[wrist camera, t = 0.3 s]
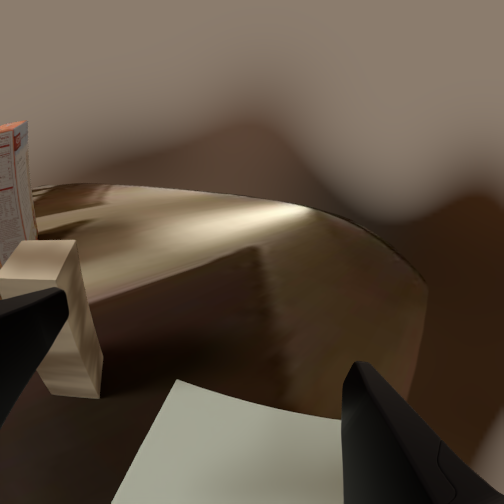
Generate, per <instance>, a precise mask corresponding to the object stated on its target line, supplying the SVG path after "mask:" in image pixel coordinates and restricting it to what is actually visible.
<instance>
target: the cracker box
mask: <svg viewBox="0 0 504 504" xmlns="http://www.w3.org/2000/svg"><path fill="white" fill-rule="evenodd" d="M29 172H30V171H29V156H28V121H20V122H14V123H9V124H5V125H2V126H0V265H1V268H2V267H3V265H4V264H5V263H6V261H7V260H8V258H9V257H10V256H11V254H12V253H13V252H14V250H15V249H16V248H17V246H18V245H19V244H20V242H21V241H28V240H38V230H37V224H36V218H35V212H34V206H33V199H32V191H31V183H30V173H29Z"/></svg>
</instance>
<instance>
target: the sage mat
mask: <svg viewBox="0 0 504 504" xmlns="http://www.w3.org/2000/svg"><path fill="white" fill-rule="evenodd" d="M111 504H344V501H343V464H342V445H341V420H335V419H329V418H322V417H316V416H311V415H305V414H300V413H295V412H290V411H285V410H281V409H276V408H272V407H267V406H263V405H259V404H255V403H251V402H248V401H244V400H240V399H237V398H233V397H229V396H226V395H223V394H219V393H216V392H213V391H210V390H207V389H204V388H200V387H197V386H195V385H192V384H189V383H186V382H183V381H180V380H178V379H177V380H176V382H175V384H174V386H173V387H172V389H171V391H170V393H169V395H168V397H167V399H166V400H165V402H164V404H163V406H162V408H161V410H160V412H159V414H158V415H157V417H156V419H155V421H154V423H153V425H152V427H151V429H150V431H149V432H148V434H147V436H146V438H145V440H144V442H143V444H142V446H141V448H140V449H139V451H138V453H137V455H136V457H135V459H134V461H133V463H132V465H131V466H130V468H129V470H128V472H127V474H126V476H125V478H124V480H123V482H122V484H121V485H120V487H119V489H118V491H117V493H116V495H115V497H114V499H113V501H112V503H111Z"/></svg>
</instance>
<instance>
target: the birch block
mask: <svg viewBox="0 0 504 504" xmlns="http://www.w3.org/2000/svg"><path fill="white" fill-rule="evenodd" d="M52 287H57V288H60V289H63V290H64V291H65V292H66V295H67V301H68V307H69V317H68V319H67V321H66V323H65V324H64V326H63V328H62V329H61V331H60V333H59V334H58V336H57V338H56V340H55V341H54V343H53V345H52V347H51V348H50V350H49V352H48V353H47V355H46V356H45V358H44V359H43V361H42V362H41V363H40V365H39V366H38V368H37V369H36V370H37V372H38V373H39V375H40V377H41V378H42V380H43V382H44V383H45V385H46V386H47V388H48V390H49V391H50V393H51V394H53V395H61V396H71V397H82V398H95V399H100V386H101V375H102V365H103V354H102V351H101V348H100V345H99V342H98V338H97V335H96V331H95V328H94V324H93V321H92V317H91V313H90V309H89V305H88V301H87V297H86V292H85V288H84V283H83V278H82V273H81V268H80V262H79V257H78V251H77V244H76V240H28V241H21V242H20V244H19V245H18V246H17V248H16V249H15V250H14V252H13V253H12V254H11V256H10V257H9V258H8V260H7V261H6V263H5V264H4V265H3V267H2V268H1V270H0V294H1V296H2V299H7V298H11V297H15V296H19V295H23V294H27V293H31V292H35V291H39V290H44V289H48V288H52Z"/></svg>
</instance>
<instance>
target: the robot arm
mask: <svg viewBox="0 0 504 504" xmlns="http://www.w3.org/2000/svg"><path fill="white" fill-rule="evenodd" d="M68 317H69V307H68V301H67V295H66V292H65V291H64V290H63V289H60V288H57V287H52V288H48V289H44V290H39V291H35V292H31V293H27V294H23V295H19V296H15V297H11V298H7V299H3V300H0V429H1V427H2V425H3V423H4V421H5V420H6V418H7V416H8V414H9V413H10V411H11V409H12V407H13V406H14V404H15V402H16V401H17V399H18V397H19V396H20V394H21V393H22V391H23V389H24V388H25V386H26V385H27V383H28V382H29V380H30V378H31V377H32V375H33V374H34V372H35V371H36V369H37V368H38V366H39V365H40V363H41V362H42V361H43V359H44V358H45V356H46V355H47V353H48V352H49V350H50V348H51V347H52V345H53V343H54V341H55V340H56V338H57V336H58V334H59V333H60V331H61V329H62V328H63V326H64V324H65V323H66V321H67V319H68ZM341 445H342V464H343V501H344V504H504V495H503V494H501V493H499V492H498V491H496V490H495V489H494V488H493V487H491V486H490V485H489V484H488V483H487V482H486V481H485V480H484V479H482V478H481V477H480V476H479V475H478V474H476V473H475V472H474V471H473V470H472V469H471V468H470V467H469V466H468V465H467V464H465V463H464V462H463V461H462V460H461V459H460V458H459V457H458V456H457V455H456V454H455V453H454V452H453V451H452V450H451V449H450V448H449V447H448V446H447V445H446V443H445V442H444V441H443V440H441V439H440V437H439V436H438V435H437V434H436V433H435V432H434V431H433V430H432V429H431V428H430V427H429V425H427V423H426V422H425V421H424V420H423V419H422V418H421V417H420V416H419V415H418V414H417V413H416V412H415V411H414V410H413V409H412V408H411V406H409V404H408V403H407V402H406V401H405V400H404V399H403V398H402V397H401V396H400V395H399V394H398V393H397V392H396V390H395V389H394V388H393V387H392V386H391V385H390V384H389V383H388V382H387V381H386V380H385V379H384V378H383V377H382V376H381V375H380V374H379V373H378V372H377V371H376V369H375V368H374V367H373V366H372V365H371V364H370V363H368V362H362V361H356V362H354V363H353V365H352V367H351V369H350V371H349V373H348V375H347V376H346V378H345V380H344V383H343V391H342V418H341Z"/></svg>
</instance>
